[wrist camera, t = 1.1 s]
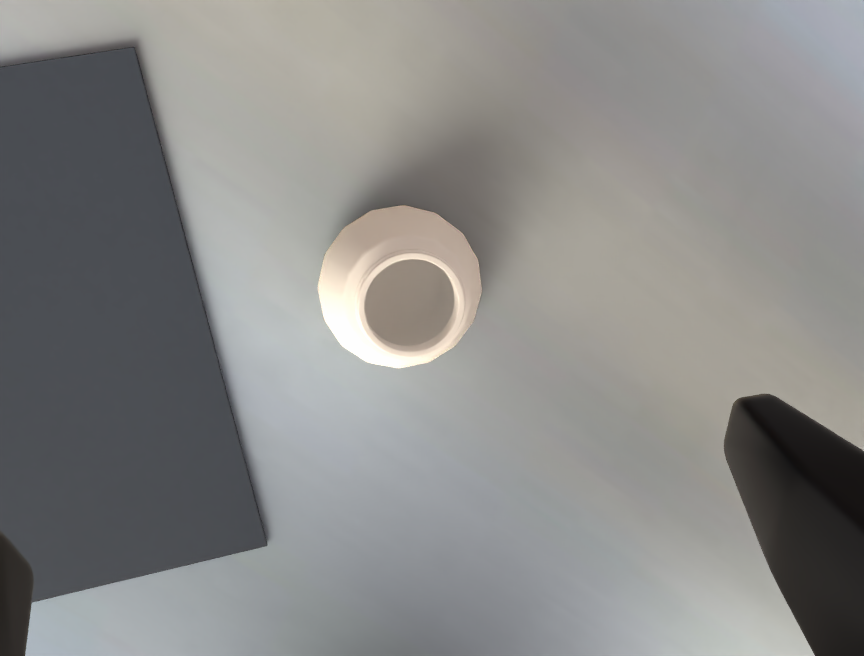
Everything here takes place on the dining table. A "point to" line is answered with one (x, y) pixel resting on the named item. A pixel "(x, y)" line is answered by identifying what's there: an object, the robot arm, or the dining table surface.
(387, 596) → the dining table surface
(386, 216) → the white jar
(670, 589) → the dining table surface
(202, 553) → the slate mat
